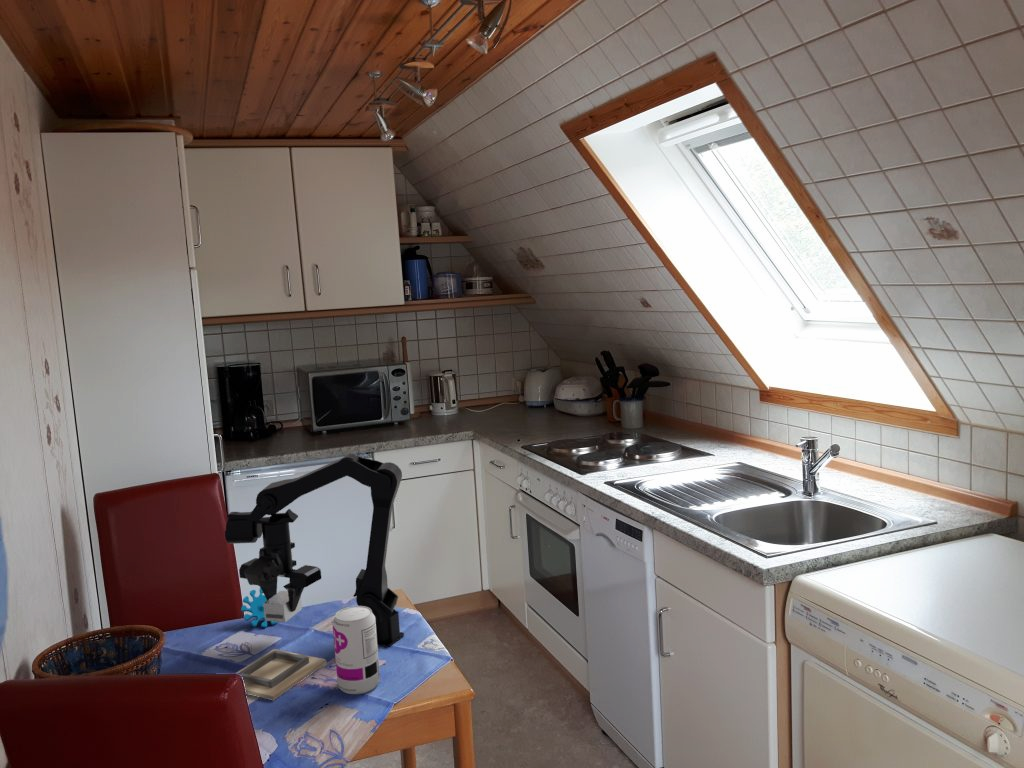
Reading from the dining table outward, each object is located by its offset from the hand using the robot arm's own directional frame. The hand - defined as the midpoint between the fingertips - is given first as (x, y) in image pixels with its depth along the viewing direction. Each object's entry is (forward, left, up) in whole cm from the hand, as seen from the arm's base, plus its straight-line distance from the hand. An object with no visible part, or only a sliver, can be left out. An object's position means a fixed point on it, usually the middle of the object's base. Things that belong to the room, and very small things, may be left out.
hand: (283, 609), depth 183 cm
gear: (+12, -7, -8) cm, 16 cm away
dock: (-8, +13, -8) cm, 17 cm away
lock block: (0, 0, -1) cm, 1 cm away
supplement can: (-27, +10, -8) cm, 30 cm away
